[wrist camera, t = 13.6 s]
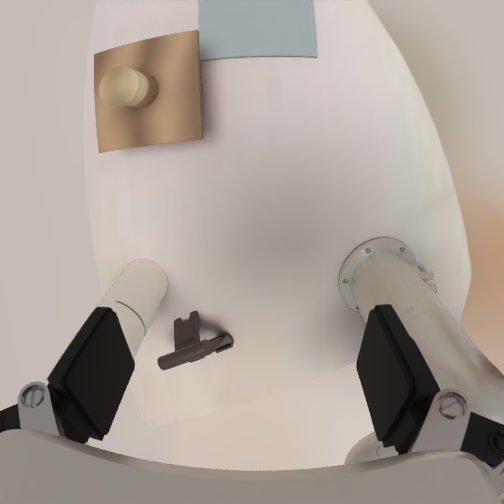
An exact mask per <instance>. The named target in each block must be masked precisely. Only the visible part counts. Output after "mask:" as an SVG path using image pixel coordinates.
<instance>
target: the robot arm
mask: <svg viewBox="0 0 504 504" xmlns="http://www.w3.org/2000/svg"><path fill="white" fill-rule="evenodd" d="M366 248H367V249H366ZM433 276H434V274H433V271H424V272H421V271H420V270H419V269H418V268H417V267H416V261H415V257H414V255H413V253H412V252H411V250H410V249H409V248H408V247H407V246H406V245H405V244H404V243H402V242H401V241H399V240H396V239H393V238H377V239H373V240H370V241H368V242H366V243H364V244H362V245H361V246H359V247H358V248H357V249H356V250H354V251H353V252H352V253H351V254H350V256H349V257H348V258H347V260H346V261H345V263H344V265H343V267H342V269H341V272H340V277H339V288H340V292H341V295H342V297H343V299H344V301H345V302H346V304H347V305H348V306H349V307H350V308H352V309H353V310H355V311H357V312H361V314H362V316H363V318H364V320H365V323H366V328H365V332H364V336H363V340H362V344H361V348H360V352H359V355H358V359H357V372H358V375H359V378H360V381H361V385H362V388H363V391H364V395H365V398H366V401H367V405H368V408H369V412H370V415H371V419H372V422H373V425H374V430H375V431H374V432H372V433H371V434H369V435H368V436H366V437H365V438H363V439H362V440H360V441H359V442H358V443H357V444H355V446H353V447H352V449H351V450H350V452H349V453H348V455H347V457H346V459H345V465H338V466H331V467H322V468H312V469H301V470H300V469H299V470H279V471H239V470H218V469H207V468H196V467H188V466H180V465H173V464H166V463H160V462H155V461H149V460H144V459H139V458H134V457H130V456H125V455H121V454H117V453H113V452H109V451H106V450H102V449H99V448H95V447H91V446H89V443H88V439H89V437H90V438H93V439H97V440H100V441H102V440H103V437H104V435H106V434H108V432H109V430H110V427H111V425H112V422H113V420H114V417H115V414H116V412H117V410H118V407H119V404H120V402H121V400H122V397H123V395H124V392H125V390H126V387H127V385H128V383H129V380H130V378H131V376H132V373H133V371H134V368H135V362H134V359H133V357H132V354H131V351H130V349H129V346H128V344H127V341H126V338H125V336H124V333H123V330H122V328H121V325H120V322H119V319H118V316H117V314H116V312H114V311H113V309H112V308H110V307H96V308H95V309H94V311H93V312H92V313H91V315H90V316H89V317H88V319H87V320H86V322H85V323H84V324H83V326H82V327H81V329H80V330H79V331H78V333H77V334H76V336H75V337H74V339H73V340H72V341H71V343H70V344H69V346H68V347H67V349H66V350H65V352H64V353H63V355H62V356H61V358H60V359H59V361H58V362H57V364H56V365H55V367H54V368H53V370H52V372H51V373H50V375H49V376H48V378H47V380H48V382H49V383H48V385H47V386H46V385H45V384H44V383H42V382H32V383H30V384H28V385H26V386H25V387H24V388H23V389H22V390H21V391H20V393H19V396H18V404H16V405H13V406H11V407H9V408H6V409H4V410H2V411H0V504H504V375H503V374H502V373H501V372H500V371H499V370H498V369H497V368H496V367H495V366H494V365H493V364H492V363H491V362H490V361H489V360H488V359H487V358H486V356H485V355H484V354H483V353H482V352H481V351H480V350H479V349H478V348H477V346H476V345H475V344H474V343H473V342H472V340H471V339H470V338H469V337H468V336H467V334H466V333H465V332H464V330H463V329H462V328H461V327H460V325H459V324H458V323H457V321H456V320H455V319H454V317H453V316H452V315H451V314H450V312H449V311H448V310H447V309H446V307H445V306H444V305H443V304H442V302H441V301H440V300H439V299H438V297H437V296H436V295H435V294H436V289H437V288H436V285H435V283H425V282H424V281H423V280H432V279H433Z"/></svg>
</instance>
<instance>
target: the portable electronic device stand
mask: <svg viewBox="0 0 504 504" xmlns="http://www.w3.org/2000/svg"><path fill="white" fill-rule="evenodd" d="M174 340H175V352H172V353H169V354H167V355H164V356H161V357H159V358H158V365H159V367H160V368H161V369H162V370H167V369H170V368H173V367H176V366H178V365H181V364H184V363H187V362H190V363H191V362H194V361H197V360H200V359H202V358H204V357H205V356H207V355H210V354H211V353H212V352H215V351H216V353H219V352H221V351H224V350H227V349H229V348H232V347H233V343H234V342H233V338H232V336H231V335H230V334H226V335H223V336H220V337H219V338H217V339H214V340H212V341H207V340H203V341H200V336H199V324H198V312H197V311H193V312H191V313H190V319H189V321H187V322H185V323H182V321H181V318H178V319H176V320H175V321H174Z"/></svg>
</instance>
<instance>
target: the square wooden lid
mask: <svg viewBox="0 0 504 504" xmlns="http://www.w3.org/2000/svg"><path fill="white" fill-rule="evenodd" d="M94 92H95V114H96V128H97V139H98V149H99V153H103V152H108V151H114V150H120V149H126V148H132V147H138V146H145V145H152V144H160V143H168V142H177V141H187V140H197V139H203V124H202V105H201V82H200V51H199V31H198V30H195V31H188V32H182V33H176V34H170V35H165V36H160V37H155V38H151V39H146V40H142V41H138V42H134V43H130V44H126V45H123V46H119V47H116V48H112V49H109V50H106V51H103V52H100V53H97V54H94Z"/></svg>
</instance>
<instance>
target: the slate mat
mask: <svg viewBox="0 0 504 504" xmlns="http://www.w3.org/2000/svg"><path fill="white" fill-rule="evenodd" d="M199 47H200V61H204V60H213V59H224V58H238V57H263V56H288V57H313V58H317V45H316V31H315V19H314V9H313V0H199Z"/></svg>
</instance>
